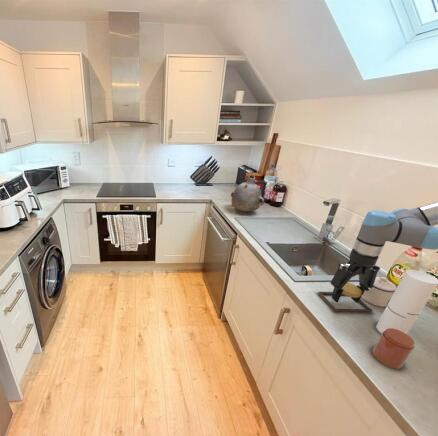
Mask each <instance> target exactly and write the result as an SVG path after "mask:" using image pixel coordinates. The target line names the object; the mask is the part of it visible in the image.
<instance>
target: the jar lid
mask: <svg viewBox="0 0 438 436" xmlns="http://www.w3.org/2000/svg"><path fill="white" fill-rule="evenodd" d="M342 289H343V292H342V294H344V295H343V296H346V297H350V298H351V297H353V298H358V297H360V296H361V294H362V291H361V289H360V288H359V287H357V285H356V284H354V283H351V282H349V281H348V282H347V283H346V284H345V285H344V286H343V288H342Z"/></svg>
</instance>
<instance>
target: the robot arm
mask: <svg viewBox="0 0 438 436" xmlns="http://www.w3.org/2000/svg"><path fill="white" fill-rule="evenodd" d="M386 242H390V243H394V244H400V245H404V246H409V247H414V248H418V249H424V250H432V251H435V250H438V201H437V202H432V203H429V204H425V205H422V206H419V207H415V208H411V209H407V208H397V209H394V210H392V211H391V212H388V211H385V210H378V209H377V210H376V209H375V210H369V211H367V213H366V214H365V216H364V218H363V220H362V222H361V226H360V229H359V230H358V234H357V236H356V239H355V241H354V243H353V246H352V249H351V251H350V253H349V255H348V256H349V260H348V262H347V263H342V262H339V264H338V268H337V269H336V271H335V273H334V275H333V277H332V279H331V281H330V283H329V284H330V285H331V286H332V287H333V290H332V292H333V295H331V299H332V301H334V302H335V303H336V304H337V303H339V301H340V299H341V296H342V295H341V294H342V292H343V289H342V288H343V286H344V285H345V284H346V283H347V282H348V283H349V282H350V280H351V279H352V278H354V277H356V275H358V284H357V285H356V286H357V287H359V288H360V289H361V291H362V294H361V296H362V295H363V294H364V292H365V290H366V291H368V290H369V289H368V288H373V285H374V282H375V278H376V277H377V276H378V272H379V270H381V267H380V266H378V265H377V263H378V262H377V261H378V260H379V258H380V257H379V256H381V253H382V251H383V249H384V247H385V244H386ZM369 283H370V284H369ZM361 296H360V297H358V298H353V297H350V299H352V301H354V303H356V304H359V300H361V298H362V297H361Z"/></svg>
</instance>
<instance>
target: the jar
mask: <svg viewBox="0 0 438 436" xmlns="http://www.w3.org/2000/svg"><path fill="white" fill-rule="evenodd" d="M414 349H415V341H414V339H413V338H412V337H411V336H410V335H409V334H408V333H407V334H405V333H404V332H402V331H399V330H397V329H392V328H389V329H386V330H385V331H384V332H383V333H381V335H380V337H378V339H377V342H376V344H375V345H374V347H373V349H372V355H373V356H374V358H375V359H376V360H377V361H378V362H380V363H381V364H382V365H384V366H386V367H389V368H391V369H395V370H399V369H402V367H403V366H404V364H406V363H405V362H406V361H407V360H408V358H409V357H410V355H411V353H412V352H413V350H414Z"/></svg>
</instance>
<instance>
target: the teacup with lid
mask: <svg viewBox="0 0 438 436" xmlns="http://www.w3.org/2000/svg"><path fill="white" fill-rule="evenodd" d="M369 284H370V283H369ZM396 288H397V286H396V285H395V284H394V283H393V282H392V281H390V280H388V278H387V277H385V276H380V277H379V276H376V278H375V282H374V285H373V288H368V289H369V290H368V291H366V290H365V292H364V294H363V295H362V296H361V298H362V299H363V300H364V301H366V302H367V303H369V304H371V305H374V306H377V307H382V308H383V307H387V305H388V303H389V301H390V299H391V298H392V296H393V294H394V292H395V290H396Z"/></svg>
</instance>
